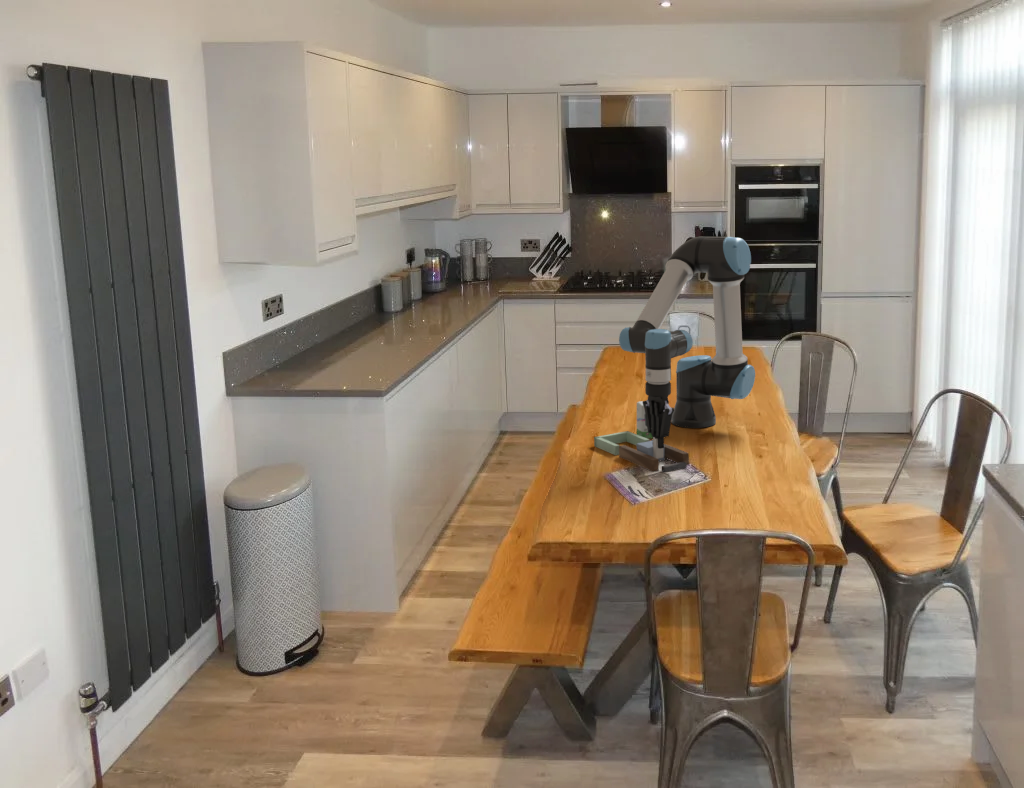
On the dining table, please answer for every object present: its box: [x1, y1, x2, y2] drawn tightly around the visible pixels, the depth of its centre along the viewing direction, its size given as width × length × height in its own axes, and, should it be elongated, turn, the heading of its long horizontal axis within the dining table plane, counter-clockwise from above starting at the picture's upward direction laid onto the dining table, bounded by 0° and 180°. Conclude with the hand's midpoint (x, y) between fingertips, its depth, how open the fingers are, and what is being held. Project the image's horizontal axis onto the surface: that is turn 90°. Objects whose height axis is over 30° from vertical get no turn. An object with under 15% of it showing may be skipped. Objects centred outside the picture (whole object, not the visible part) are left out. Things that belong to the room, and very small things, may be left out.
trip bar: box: [661, 462, 688, 473], centre depth 298 cm, size 8×2×2 cm, turn 117°
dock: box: [593, 430, 651, 456], centre depth 322 cm, size 13×12×3 cm
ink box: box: [636, 400, 653, 440], centre depth 333 cm, size 9×5×12 cm, turn 105°
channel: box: [618, 439, 690, 473], centre depth 307 cm, size 13×18×4 cm
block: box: [636, 439, 665, 462], centre depth 308 cm, size 6×6×5 cm
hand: (658, 457), depth 305 cm, fingers closed
